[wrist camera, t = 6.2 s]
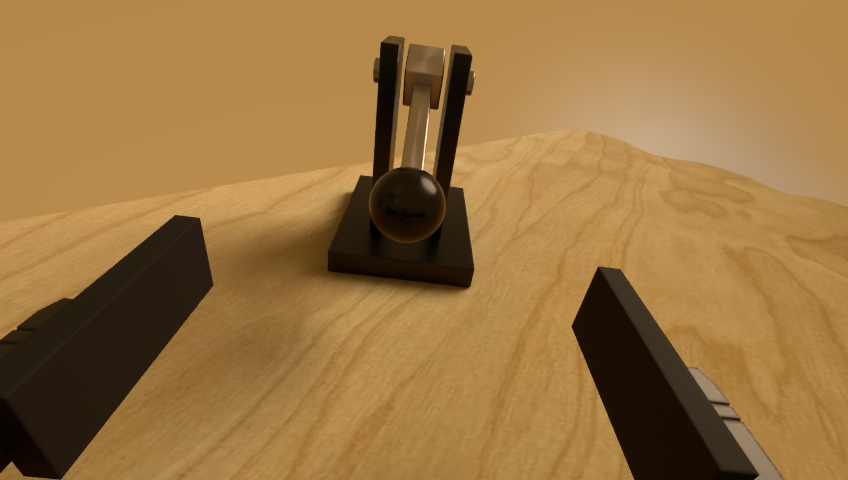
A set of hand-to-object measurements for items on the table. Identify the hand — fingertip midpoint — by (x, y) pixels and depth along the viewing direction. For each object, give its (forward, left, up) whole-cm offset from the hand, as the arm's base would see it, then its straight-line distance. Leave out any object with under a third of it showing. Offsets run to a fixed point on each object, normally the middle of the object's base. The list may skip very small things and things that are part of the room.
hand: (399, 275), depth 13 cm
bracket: (-5, +14, -7) cm, 16 cm away
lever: (-4, +10, 0) cm, 11 cm away
